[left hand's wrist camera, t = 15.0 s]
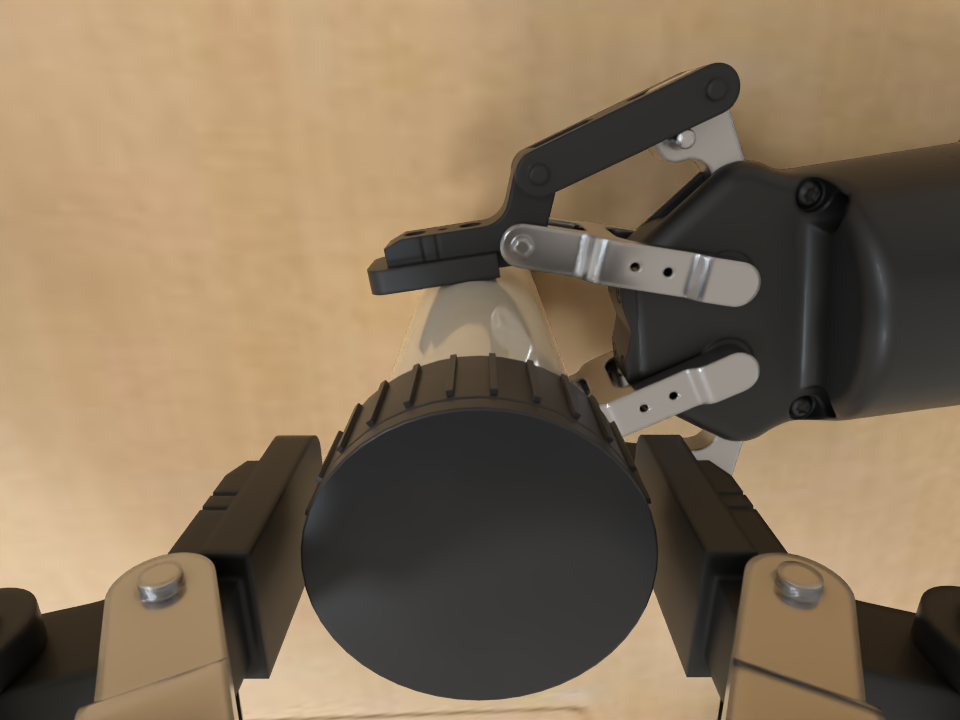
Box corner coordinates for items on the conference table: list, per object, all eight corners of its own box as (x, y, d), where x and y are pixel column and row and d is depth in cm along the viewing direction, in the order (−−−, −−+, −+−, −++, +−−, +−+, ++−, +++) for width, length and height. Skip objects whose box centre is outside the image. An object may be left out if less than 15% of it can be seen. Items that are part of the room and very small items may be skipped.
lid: (503, 654, 12) (508, 752, 10) (270, 515, 11) (226, 596, 9) (694, 469, 11) (742, 542, 9) (448, 284, 10) (440, 323, 8)
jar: (408, 320, 25) (304, 600, 10) (449, 219, 23) (397, 373, 9) (507, 359, 25) (545, 678, 11) (552, 263, 24) (669, 478, 9)
